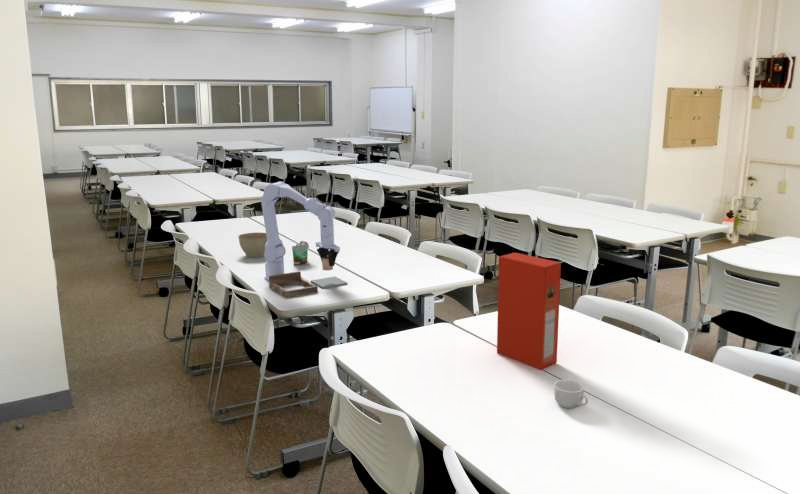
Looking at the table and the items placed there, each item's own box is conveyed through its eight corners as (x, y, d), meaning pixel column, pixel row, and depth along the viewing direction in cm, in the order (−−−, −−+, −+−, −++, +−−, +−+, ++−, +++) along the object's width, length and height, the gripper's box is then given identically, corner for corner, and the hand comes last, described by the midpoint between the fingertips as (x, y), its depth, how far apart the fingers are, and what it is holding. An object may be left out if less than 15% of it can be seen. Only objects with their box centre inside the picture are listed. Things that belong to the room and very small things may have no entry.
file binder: (540, 370, 191) (544, 267, 184) (496, 353, 204) (498, 256, 197) (556, 363, 196) (561, 262, 189) (512, 347, 209) (515, 252, 202)
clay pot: (320, 269, 282) (319, 258, 281) (328, 266, 285) (328, 255, 284) (326, 271, 279) (326, 259, 277) (335, 268, 282) (334, 257, 281)
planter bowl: (276, 256, 333) (275, 235, 330) (246, 261, 324) (245, 240, 322) (264, 250, 346) (262, 230, 343) (235, 254, 337) (233, 234, 334)
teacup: (546, 403, 171) (547, 384, 170) (566, 395, 176) (567, 377, 174) (577, 417, 163) (578, 398, 162) (596, 409, 168) (597, 390, 166)
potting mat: (310, 282, 285) (310, 280, 285) (335, 278, 292) (334, 276, 291) (322, 288, 276) (322, 286, 275) (347, 284, 282) (347, 282, 282)
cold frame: (269, 287, 279) (268, 276, 277) (300, 281, 286) (299, 271, 285) (285, 297, 263) (285, 286, 262) (317, 292, 271) (317, 280, 270)
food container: (304, 266, 312) (303, 246, 310) (292, 266, 313) (291, 246, 311) (313, 260, 324) (312, 241, 321) (301, 260, 325) (300, 240, 322)
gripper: (309, 233, 281) (311, 263, 284) (330, 238, 271) (331, 269, 274) (322, 231, 286) (323, 260, 289) (343, 236, 276) (344, 266, 279)
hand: (328, 264), depth 282 cm, fingers closed on clay pot, 5 cm apart
